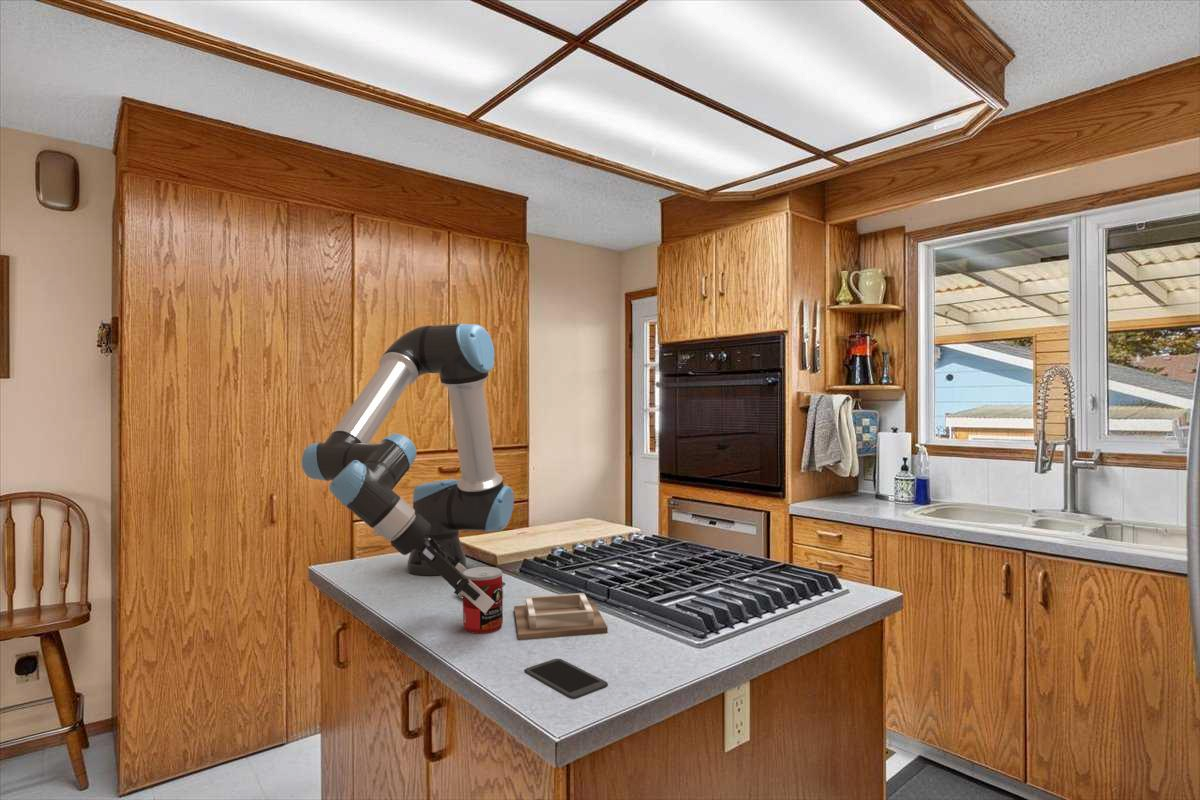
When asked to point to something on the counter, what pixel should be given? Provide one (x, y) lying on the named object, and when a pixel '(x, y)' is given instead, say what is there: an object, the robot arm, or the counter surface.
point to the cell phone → (566, 678)
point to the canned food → (491, 586)
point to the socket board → (558, 616)
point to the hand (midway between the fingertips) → (483, 597)
